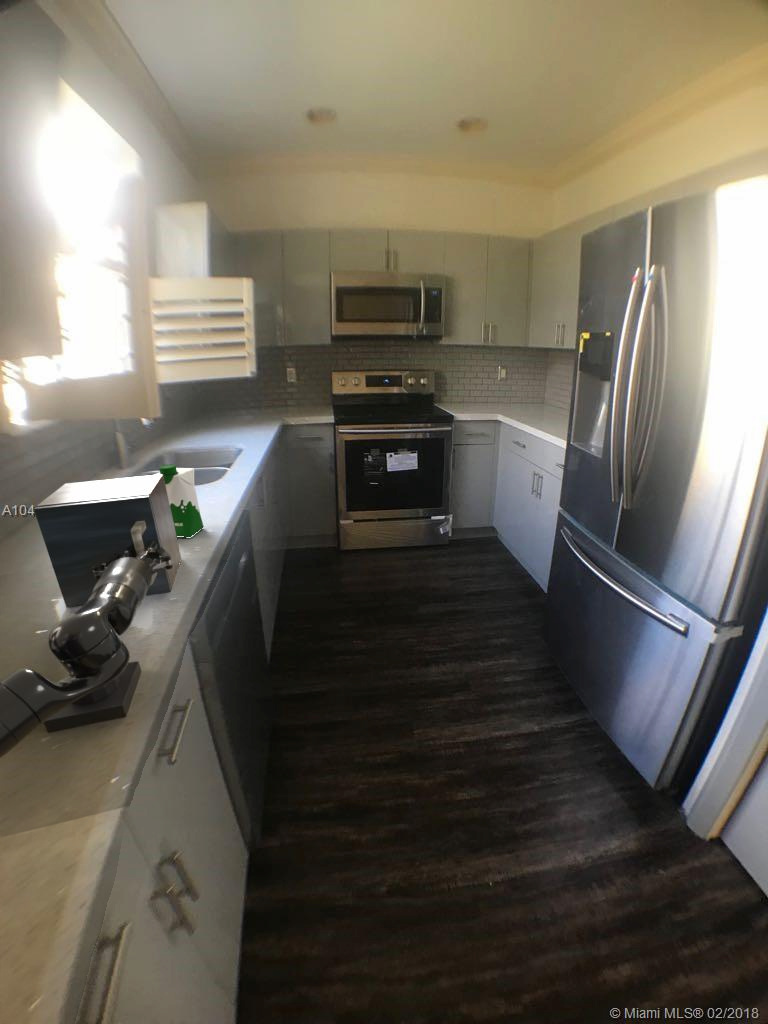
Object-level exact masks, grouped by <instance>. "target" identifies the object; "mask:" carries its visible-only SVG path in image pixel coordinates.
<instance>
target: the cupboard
mask: <svg viewBox="0 0 768 1024" xmlns="http://www.w3.org/2000/svg"><path fill="white" fill-rule="evenodd" d="M148 495H149V496H150V500H151V504H152V508H153V513H154V517H155V521H156V526H157V530H158V534H159V538H160V543H161V547H162V548H163V549H164V550H165V551H166V552H167V553H168V554H169V555H170V557H171V561H172V566H173V568H172V569H167V573H168V577H169V582H170V586H171V590H173V587H174V584H175V581H174V580H176V578H175V577H177V575H176V574H178V571H179V568H180V565H179V563H180V564H181V562H180V560H181V561H182V556H181V551H180V550H181V549H180V546H179V542H178V538H177V536H176V532H175V527H174V522H173V518H172V513H171V508H170V504H169V499H168V495H167V490H166V485H165V481H164V476H163V474H160V475H155V474H152V475H139V476H131V477H130V476H129V477H119V478H109V479H100V480H89V481H88V480H87V481H79V482H77V481H76V482H68V483H64V484H63V485H62V486H60V487H59V488H58V489H56V490H55V491H54V492H53V493H51V494H50V495H49V496H47V497H45V498H44V500H42V501H41V502H40V503H38V504H37V505H36V506H35V508H36V507H44V506H53V505H63V504H72V503H82V502H91V501H101V500H110V499H120V498H129V497H139V496H148ZM178 567H179V568H178ZM177 570H178V571H177Z"/></svg>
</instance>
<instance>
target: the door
mask: <svg viewBox="0 0 768 1024" xmlns="http://www.w3.org/2000/svg"><path fill="white" fill-rule="evenodd" d="M33 511H34V515H35V518H36V521H37V524H38V527H39V531H40V533H41V536H42V538H43V542H44V545H45V548H46V551H47V554H48V557H49V560H50V563H51V566H52V569H53V572H54V575H55V578H56V581H57V584H58V587H59V590H60V594H61V596H62V599H63V602H64V605H65V608H72V607H81V606H84V605H85V604H86V602H87V601H88V599H89V598H90V596H91V594H92V592H93V589H94V587H95V585H96V583H97V582H98V580H99V579H96V578H95V575H94V571H93V568H92V566H94V565H95V564H97V563H99V562H100V561H102V560H104V559H105V558H107V557H108V556H110V555H112V554H114V553H119V554H123V551H125V550H127V548H128V547H129V546H131V545H132V543H134V546H135V550H136V554H137V556H138V555H139V554H140V553H141V552H142V551H145V550H146V547H147V545H148V543H149V541H154V543H157V547H161V543H160V538H159V534H158V530H157V526H156V521H155V517H154V513H153V508H152V504H151V500H150V496H149V495H148V496H139V497H129V498H120V499H110V500H101V501H91V502H82V503H72V504H63V505H53V506H44V507H36V506H35V507H34V508H33ZM112 562H113V560H112ZM155 562H158V559H156V560H155ZM171 591H172V589H171V586H170V582H169V577H168V573H167V569H166V568H165V567H164V568H159V569H158V571H157V572H156V573H155V574H153V576H152V581H151V584H150V586H149V588H148V591H147V593H146V595H145V597H146V596H153V595H159V594H165V593H171Z"/></svg>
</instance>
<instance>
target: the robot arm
mask: <svg viewBox="0 0 768 1024" xmlns="http://www.w3.org/2000/svg"><path fill="white" fill-rule="evenodd" d="M156 559H158V562H155V560H156ZM112 560H113V562H112ZM164 567H165V568H166V569H172V568H173V566H172V561H171V557H170V555H169V554H168V553H167V552H166V551H165V550H164V549H163V548H162V547H157V543H154V541H149V543H148V545H147V547H146V550H145V551H142V552H141V553H140V554H139V555H138V556H137V554H136V550H135V546H134V543H132V545H131V546H129V547H128V548H127V550H125V551H123V554H119V553H114V554H112V555H110V556H108V557H107V558H105V559H104V560H102V561H100V562H99V563H97V564H95V565H94V566H92V568H93V571H94V575H95V578H96V579H99V580H98V582H97V583H96V585H95V587H94V589H93V592H92V594H91V596H90V598H89V599H88V601H87V602H86V604H85V605H82V606H80V608H79V609H77V610H76V611H75V612H73V613H72V614H70V615H68V616H66V617H65V618H63V619H61V620H60V621H59V622H57V623H56V624H55V625H54V626H53V628H51V630H50V632H49V635H48V648H49V649H50V651H51V653H52V654H53V656H54V657H55V658H56V659H57V660H58V662H59V663H60V664H61V665H62V667H63V668H64V669H65V670H66V671H67V672H68V675H67V676H66V677H64V678H61V679H59V680H56V681H52V680H50V679H48V678H47V677H46V676H44V675H43V674H41V673H40V672H39V671H36V670H34V669H32V668H24V667H23V668H19V669H17V670H16V671H14V672H12V673H11V674H10V675H9V674H8V676H6V677H5V678H4V679H2V680H1V681H0V760H1V759H2V758H3V757H5V756H6V755H7V754H8V753H10V752H11V751H13V749H15V748H16V747H17V746H18V745H19V744H20V743H22V742H23V741H24V740H25V739H26V738H27V737H28V736H30V734H32V733H33V732H35V730H37V729H38V728H39V727H40V726H41V725H44V722H45V721H46V720H47V719H48V718H50V717H51V716H53V715H54V714H56V713H57V712H59V711H60V710H62V709H64V708H65V707H67V706H69V705H70V704H72V703H74V702H76V701H77V700H79V699H81V698H83V697H84V696H86V695H88V694H90V693H92V692H94V691H96V690H98V689H100V688H102V687H103V686H105V685H107V684H109V683H110V682H112V681H113V680H115V679H116V678H117V677H118V676H120V674H121V673H122V672H123V671H124V670H125V668H126V666H127V665H128V663H130V657H131V652H130V649H129V648H128V646H127V644H125V642H124V640H123V639H122V638H121V636H122V635H123V634H125V633H126V632H127V631H128V630H129V629H130V627H131V626H132V623H133V621H134V619H135V617H136V615H137V612H138V610H139V608H140V607H141V606H142V604H143V603H144V600H145V598H146V596H147V595H146V593H147V591H148V588H149V586H150V584H151V581H152V576H153V574H155V573H156V572H157V571H158V569H159V568H164ZM145 595H146V596H145Z"/></svg>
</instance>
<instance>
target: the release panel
mask: <svg viewBox="0 0 768 1024" xmlns="http://www.w3.org/2000/svg"><path fill="white" fill-rule="evenodd" d="M141 674H142V668H141V665H140V661H138V660H137V661H132V662H128V665H127V666H126V668H125V670H124V671H123V672H122V673H121V674H120V676H118V677H117V678H116V679H115V680H113V681H112V682H110V683H109V684H107V685H105V686H103V687H102V688H100V689H98V690H96V691H94V692H92V693H90V694H88V695H86V696H84V697H83V698H81V699H79V700H77V701H76V702H74V703H72V704H70V705H69V706H67V707H65V708H64V709H62V710H60V711H59V712H57V713H56V714H54V715H53V716H51V717H50V718H48V719H47V720H46V721H45V722H44V723H43V725H44V728H45V729H46V731H47V733H48V734H50V733H55V732H59V731H64V730H68V729H74V728H78V727H83V726H88V725H92V724H93V725H94V724H98V723H103V722H108V721H112V720H117V719H123V718H126V717H127V716H128V712H129V710H130V707H131V704H132V701H133V698H134V695H135V692H136V689H137V686H138V683H139V680H140V677H141Z"/></svg>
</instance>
